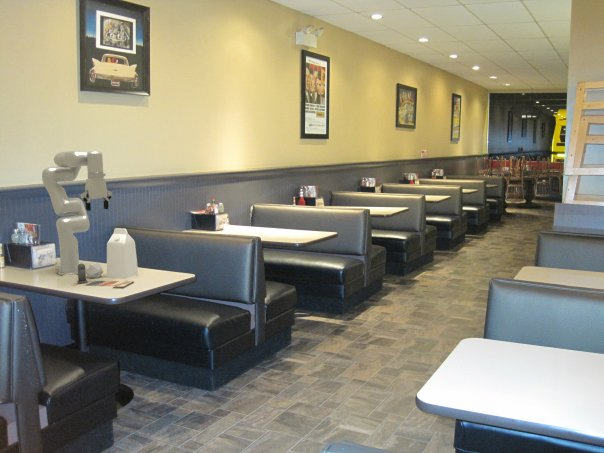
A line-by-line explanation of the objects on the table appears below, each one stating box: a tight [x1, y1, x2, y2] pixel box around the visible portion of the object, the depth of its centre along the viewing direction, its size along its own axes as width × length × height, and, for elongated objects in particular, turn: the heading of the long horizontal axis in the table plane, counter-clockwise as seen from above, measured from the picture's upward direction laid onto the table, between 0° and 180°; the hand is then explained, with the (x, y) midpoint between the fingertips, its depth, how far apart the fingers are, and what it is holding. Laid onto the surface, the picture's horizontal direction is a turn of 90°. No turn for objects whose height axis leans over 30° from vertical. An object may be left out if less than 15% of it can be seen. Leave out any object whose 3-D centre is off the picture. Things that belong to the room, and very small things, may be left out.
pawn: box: [76, 263, 88, 284], centre depth 302 cm, size 5×5×10 cm
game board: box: [72, 280, 135, 289], centre depth 301 cm, size 28×13×1 cm, turn 83°
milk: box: [106, 227, 139, 279], centre depth 319 cm, size 12×12×26 cm
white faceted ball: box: [85, 263, 104, 279], centre depth 316 cm, size 8×9×10 cm
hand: (97, 209), depth 304 cm, fingers open, 9 cm apart
